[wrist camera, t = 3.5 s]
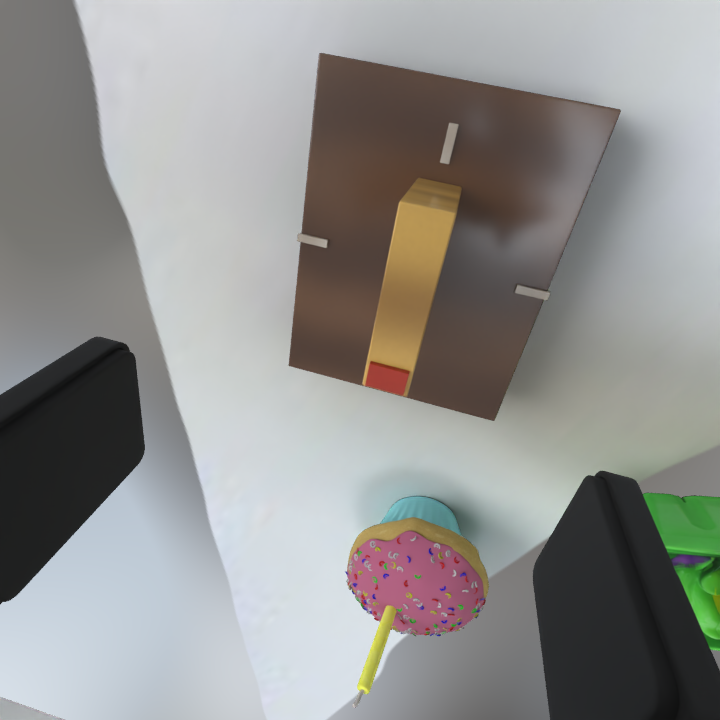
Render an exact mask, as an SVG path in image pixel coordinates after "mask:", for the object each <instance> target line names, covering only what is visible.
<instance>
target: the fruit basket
mask: <svg viewBox="0 0 720 720" xmlns="http://www.w3.org/2000/svg"><path fill="white" fill-rule="evenodd" d="M643 496H644V499H645V501H646V503H647V506H648V508H649V510H650V513H651V515H652V517H653V520H654V522H655V524H656V527H657V529H658V531H659V534H660V536H661V538H662V541H663V543H664V545H665V547H666V550H667V552H668V554H669V557H670V559H671V561H672V564H673V566H674V568H675V571H676V573H677V575H678V576H679V578H680V580H681V583H682V585H683V587H684V590H685V592H686V594H687V597H688V599H689V601H690V604H691V606H692V608H693V610H694V613H695V615H696V617H697V620H698V622H699V624H700V627H701V629H702V631H703V634H704V636H705V638H706V640H707V643H708V645H709V647H710V650H718V651H720V497H708V496H685V497H682V498H680V497H679V496H674V495H671V494H659V493H644V494H643Z"/></svg>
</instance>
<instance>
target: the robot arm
mask: <svg viewBox="0 0 720 720" xmlns="http://www.w3.org/2000/svg"><path fill="white" fill-rule="evenodd" d="M144 450H145V444H144V435H143V426H142V417H141V408H140V398H139V388H138V379H137V370H136V360H135V356H134V354H133V353H131V352H130V350H129V348H128V346H127V345H126V344H124V343H121V342H118V341H113V340H110V339H106V338H103V337H94V338H92V339H90V340H88V341H87V342H85V343H83V344H82V345H80V346H79V347H77V348H76V349H74V350H72V351H71V352H69V353H67V354H66V355H64V356H62V357H61V358H59V359H58V360H56V361H55V362H53V363H51V364H50V365H48V366H46V367H45V368H43V369H41V370H40V371H39V372H37V373H35V374H33V375H32V376H30V377H28V378H27V379H25V380H24V381H22V382H20V383H19V384H17V385H16V386H14V387H12V388H11V389H9V390H7V391H6V392H4V393H3V394H1V395H0V604H1V603H2V602H6V601H9V600H11V599H12V598H14V597H15V596H16V595H17V594H18V593H19V592H20V591H21V590H22V589H23V588H24V587H25V586H26V585H27V584H28V583H29V582H30V580H32V578H33V577H34V576H35V575H36V574H37V573H38V572H39V571H40V570H41V569H42V568H43V567H44V566H45V564H46V563H47V562H48V561H49V560H50V559H51V558H52V557H53V556H54V555H55V553H56V552H57V551H58V550H59V549H60V548H61V547H62V546H63V545H64V544H65V543H66V542H67V541H68V540H69V539H70V537H71V536H72V535H73V534H74V533H75V532H76V531H77V530H78V529H79V528H80V527H81V526H82V524H83V523H84V522H85V521H86V520H87V519H88V518H89V517H90V516H91V515H92V514H93V513H94V511H95V510H96V509H97V508H98V507H99V506H100V505H101V504H102V503H103V502H104V501H105V500H106V499H107V498H108V496H109V495H110V494H111V493H112V492H113V491H114V490H115V489H116V488H117V487H118V486H119V485H120V483H121V482H122V481H123V480H124V479H125V478H126V477H127V476H128V475H129V474H130V473H131V472H132V471H133V469H134V468H135V467H136V466H137V465H138V464H139V463H140V461H141V459H142V457H143V455H144ZM533 585H534V592H535V601H536V608H537V616H538V625H539V633H540V641H541V648H542V657H543V665H544V673H545V681H546V689H547V697H548V705H549V713H550V720H720V671H719V668H718V666H717V664H716V662H715V659H714V657H713V654H712V652H711V650H710V647H709V645H708V643H707V640H706V638H705V636H704V634H703V631H702V629H701V627H700V624H699V622H698V620H697V617H696V615H695V613H694V610H693V608H692V606H691V604H690V601H689V599H688V597H687V594H686V592H685V590H684V587H683V585H682V583H681V580H680V578H679V576H678V575H677V573H676V571H675V568H674V566H673V564H672V561H671V559H670V557H669V554H668V552H667V550H666V547H665V545H664V543H663V541H662V538H661V536H660V534H659V531H658V529H657V527H656V524H655V522H654V520H653V517H652V515H651V513H650V510H649V508H648V506H647V503H646V501H645V499H644V496H643V494H642V492H641V490H640V487H639V485H638V483H637V482H636V481H635V480H634V479H632V478H628V477H624V476H621V475H617V474H613V473H609V472H606V471H599V472H598V473H597V474H596V475H595V476H591V475H588V476H587V477H585V479H584V480H583V482H582V483H581V485H580V487H579V488H578V490H577V492H576V494H575V495H574V497H573V499H572V500H571V502H570V504H569V506H568V507H567V509H566V511H565V512H564V514H563V516H562V518H561V519H560V521H559V523H558V524H557V526H556V528H555V530H554V531H553V533H552V535H551V536H550V538H549V540H548V541H547V543H546V545H545V547H544V548H543V550H542V552H541V554H540V555H539V557H538V559H537V561H536V563H535V566H534V570H533ZM0 720H64V719H61V718H58V717H56V716H53V715H50V714H47V713H44V712H41V711H39V710H36V709H33V708H30V707H27V706H25V705H22V704H19V703H16V702H13V701H11V700H8V699H5V698H2V697H0Z"/></svg>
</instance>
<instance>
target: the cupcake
mask: <svg viewBox="0 0 720 720" xmlns="http://www.w3.org/2000/svg"><path fill="white" fill-rule="evenodd" d="M346 574H347V577H348V579H347V583H348V585H349V590H351V589H352V593H353V594H355V598H356V597H357V598H356V600H357V601H359V603H361V606H362V608H363V609H364V610H366V612H367V613H368V614H372V615H373V616H374V617H375V618H374V619H375V620H377V621H379V622H380V624H379V627H378V630H377V633H376V635H375V638H374V641H373V644H372V647H371V649H370V652H369V655H368V658H367V660H366V663H365V666H364V669H363V671H362V674H361V677H360V680H359V683H358V685H357V688H358V690H359V691H360V692H359V693H358V695H357V698H356V700H355V702H354V704H353V708H356V707H357V706H358V704H359V701H360V699H361V696H362V695H363V693H364V694H368V693H369V692H370V689H371V686H372V683H373V680H374V677H375V674H376V671H377V668H378V665H379V662H380V659H381V656H382V653H383V650H384V647H385V644H386V641H387V638H388V635H389V633H390V630H392V628H393V630H395V631H396V632H401V634H405V633H407V634H413V635H414V636H416V635H429V634H431V635H433V634H435V635H437V636H441V634H445V633H447V632H452V631H458V630H460V628H464V627H463V626H464V625H466V624H467V623H468V622H469V621H471V620H472V619H473V618H477V616H478V613H479V612H480V611H481V610H482V609H483V605H484V604H485V598H486V596H487V593H488V587H489V584H488V577H487V573H486V570H485V567H484V565H483V564H482V562H481V560H480V557H479V553H478V550H477V549H476V547H475V546H473V545H472V544H471V543H470V542H469V541H468V540H467V539H465V538H464V537H462V536H461V533H460V530H459V527H458V523H457V520H456V518H455V516H454V514H453V513H452V511H451V510H450V509H449V508H448V507H447V506H445V505H444V504H442V503H440V502H439V501H436V500H434V499H431V498H427V497H421V496H413V497H407V498H403V499H401V500H399V501H397V502H396V503H395V504H394V505H393V506H392V507H391V508H390V510H389V511H388V513H387V515H386V516H385V517H384V519H383V520H382V522H381V523H380V524H378V525H374V526H372V527H369V528H367V529H365V530H364V531H363V532H361V533H360V534H359V535H358V537H357V538H356V540H355V542H354V544H353V547H352V549H351V551H350V555H349V561H348V567H347V572H346ZM364 607H365V608H364ZM431 635H430V636H431Z"/></svg>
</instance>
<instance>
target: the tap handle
mask: <svg viewBox="0 0 720 720" xmlns="http://www.w3.org/2000/svg"><path fill="white" fill-rule="evenodd" d="M461 190H462V188H461V187H460V186H455V185H450V184H446V183H441V182H436V181H432V180H427V179H422V178H418V179H417V180H416V181H415V183H414V184H413V185H412V186H411V188H410V189H409V190H408V192H407V193H406V194H405V195H404V197H403V198H402V199H401V200H400V202H399V205H398V209H397V214H396V219H395V224H394V229H393V234H392V239H391V244H390V249H389V254H388V259H387V264H386V269H385V274H384V279H383V283H382V288H381V293H380V298H379V303H378V308H377V313H376V318H375V323H374V328H373V333H372V338H371V343H370V348H369V353H368V358H367V362H366V367H365V372H364V377H363V382H362V384H363V385H364V386H368V387H372V388H375V389H379V390H383V391H387V392H390V393H394V394H398V395H401V396H405V397H406V396H407V395H408V392H409V388H410V385H411V381H412V377H413V373H414V370H415V366H416V362H417V359H418V355H419V351H420V348H421V344H422V340H423V337H424V333H425V329H426V325H427V322H428V318H429V314H430V311H431V307H432V303H433V300H434V296H435V292H436V288H437V285H438V281H439V277H440V274H441V270H442V266H443V263H444V259H445V255H446V252H447V248H448V244H449V240H450V237H451V233H452V229H453V226H454V222H455V218H456V214H457V209H458V205H459V200H460V195H461Z"/></svg>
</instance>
